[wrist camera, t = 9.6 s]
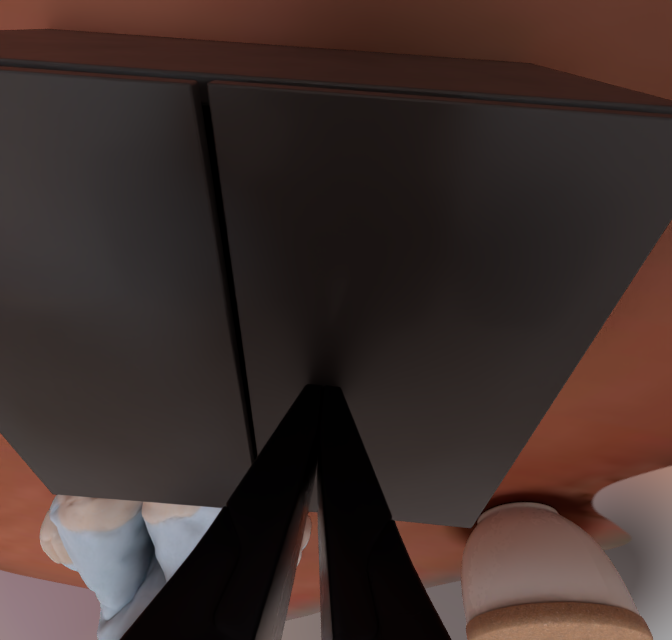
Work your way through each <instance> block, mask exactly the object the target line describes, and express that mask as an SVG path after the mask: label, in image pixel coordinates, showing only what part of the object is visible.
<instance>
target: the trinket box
mask: <svg viewBox="0 0 672 640" xmlns="http://www.w3.org/2000/svg"><path fill="white" fill-rule="evenodd" d="M477 524H478V525H477V526H476V527H475V528H474V530H473V531H472V533H471V534H470V536H469V538H468V540H467V542H466V545H465V548H464V551H463V557H462V566H461V584H462V596H463V604H464V611H465V616H466V622H467V626H466V633H467V639H468V640H653V637H652V634H651V632H650V630H649V628H648V626H647V624H646V622H645V621H644V619H643V618H642V617H641V616H640V614H639V612H638V610H637V607H636V605H635V603H634V601H633V599H632V597H631V595H630V593H629V591H628V589H627V587H626V585H625V583H624V581H623V580H622V578H621V576H620V575H619V573H618V571H617V570H616V568H615V566H614V565H613V563H612V562H611V561H610V559H609V558H608V556H607V555H606V553H605V552H604V551H603V549H602V548H601V547H600V546H599V545H598V544H597V542H596V541H595V540H594V539H593V538H592V537H591V536H590V535H589V534H588V533H586V532H585V531H584V530H583V529H582V528H580V527H579V526H578V525H576V524H575V523H573V522H572V521H570V520H568V519H566V518H565V517H563V516H561V515H559V513H558V512H557V511H556V510H555V509H554V508H552V507H550V506H547V505H544V504H540V503H532V502H518V503H510V504H504V505H500V506H497V507H494V508H492V509H489V510H487V511H486V512H484V513H483V514H482V515H481V516H480V517H479V518H478V521H477Z"/></svg>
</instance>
